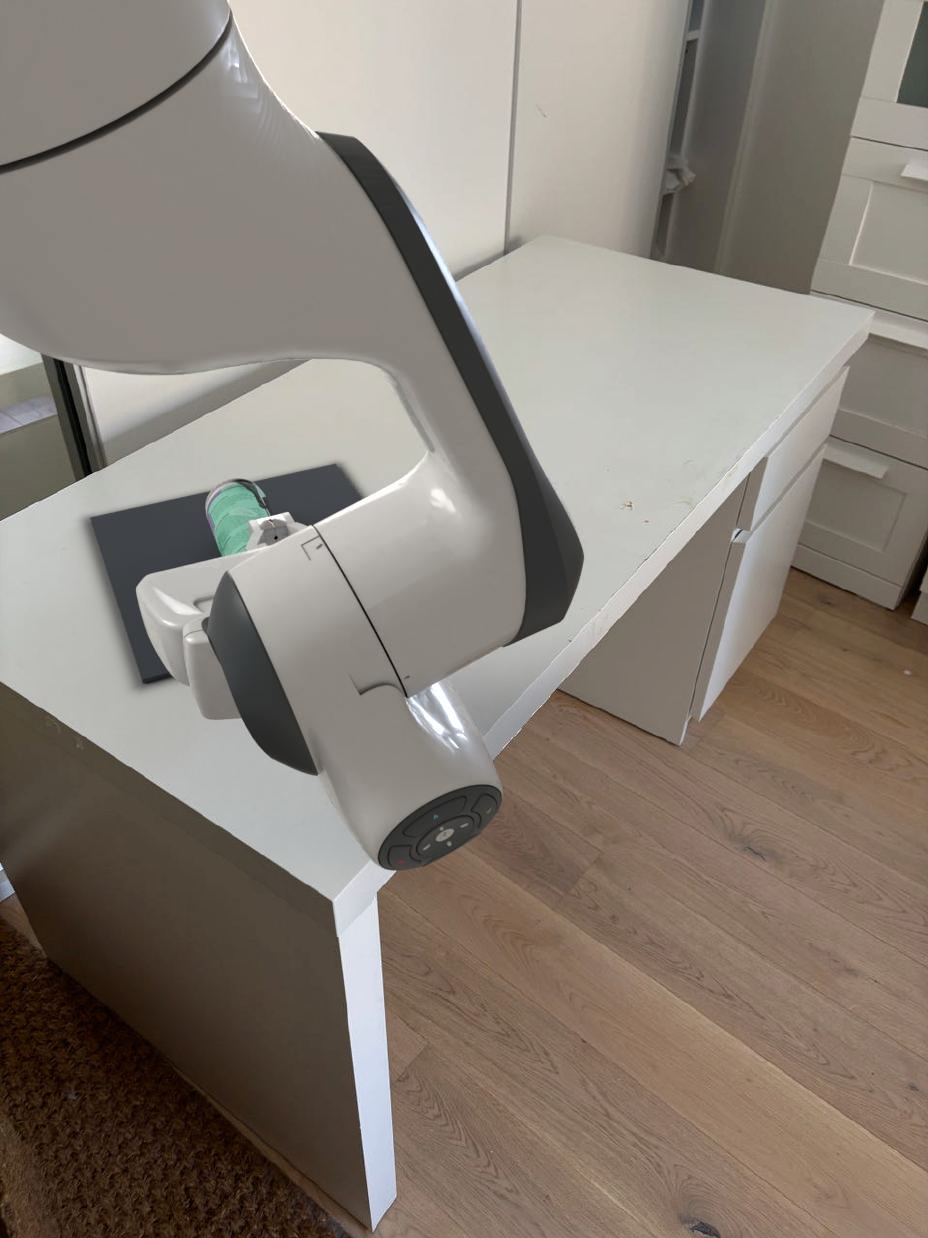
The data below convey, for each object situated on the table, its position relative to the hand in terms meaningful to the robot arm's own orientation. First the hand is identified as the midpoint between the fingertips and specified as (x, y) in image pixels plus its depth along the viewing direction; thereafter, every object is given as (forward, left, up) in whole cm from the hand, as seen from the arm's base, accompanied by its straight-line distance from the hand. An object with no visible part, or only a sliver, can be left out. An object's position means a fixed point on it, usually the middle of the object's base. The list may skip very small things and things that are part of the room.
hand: (268, 524), depth 68 cm
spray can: (0, 0, -9) cm, 9 cm away
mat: (+1, +13, -12) cm, 18 cm away
